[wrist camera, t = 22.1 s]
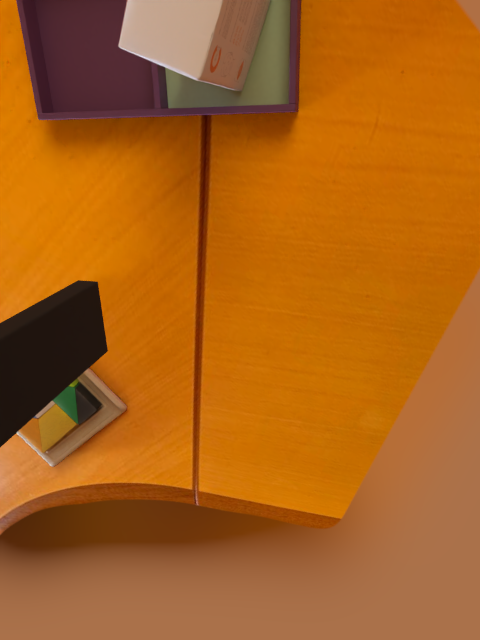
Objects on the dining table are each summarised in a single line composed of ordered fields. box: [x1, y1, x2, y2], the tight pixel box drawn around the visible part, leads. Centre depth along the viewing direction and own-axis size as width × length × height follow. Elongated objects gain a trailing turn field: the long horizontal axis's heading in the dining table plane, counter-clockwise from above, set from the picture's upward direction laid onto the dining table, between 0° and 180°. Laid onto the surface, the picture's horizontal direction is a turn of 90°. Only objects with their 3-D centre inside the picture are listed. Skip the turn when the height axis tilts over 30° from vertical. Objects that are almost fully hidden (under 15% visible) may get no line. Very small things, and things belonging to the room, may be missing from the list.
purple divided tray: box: [17, 0, 301, 120], centre depth 41 cm, size 13×26×3 cm, turn 91°
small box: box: [118, 0, 271, 91], centre depth 34 cm, size 8×6×13 cm
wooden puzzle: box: [17, 368, 127, 466], centre depth 61 cm, size 18×19×4 cm
